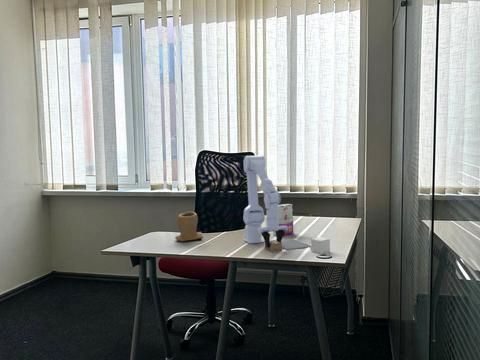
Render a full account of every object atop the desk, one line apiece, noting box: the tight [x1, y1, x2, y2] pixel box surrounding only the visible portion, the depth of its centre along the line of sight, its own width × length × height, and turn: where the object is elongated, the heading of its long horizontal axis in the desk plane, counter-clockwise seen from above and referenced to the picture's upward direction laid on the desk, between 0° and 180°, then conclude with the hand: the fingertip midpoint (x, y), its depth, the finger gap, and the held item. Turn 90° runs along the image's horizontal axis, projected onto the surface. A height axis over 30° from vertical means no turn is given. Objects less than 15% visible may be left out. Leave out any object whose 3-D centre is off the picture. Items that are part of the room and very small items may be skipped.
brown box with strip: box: [264, 239, 283, 253], centre depth 213 cm, size 9×4×4 cm, turn 23°
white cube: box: [310, 236, 331, 255], centre depth 207 cm, size 6×6×6 cm
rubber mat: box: [281, 239, 311, 251], centre depth 223 cm, size 18×14×1 cm
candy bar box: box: [272, 203, 294, 237], centre depth 250 cm, size 11×5×16 cm, turn 126°
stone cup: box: [175, 211, 204, 242], centre depth 240 cm, size 15×12×15 cm
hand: (273, 246), depth 214 cm, fingers open, 5 cm apart
